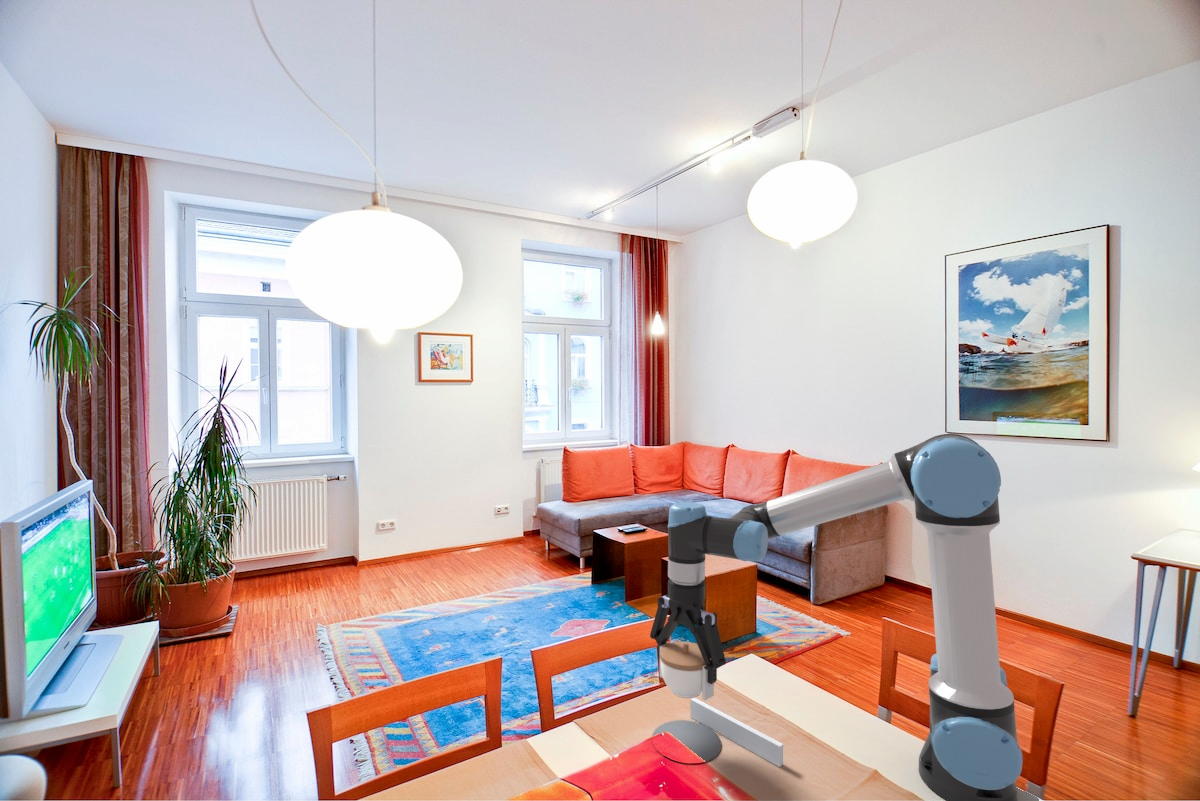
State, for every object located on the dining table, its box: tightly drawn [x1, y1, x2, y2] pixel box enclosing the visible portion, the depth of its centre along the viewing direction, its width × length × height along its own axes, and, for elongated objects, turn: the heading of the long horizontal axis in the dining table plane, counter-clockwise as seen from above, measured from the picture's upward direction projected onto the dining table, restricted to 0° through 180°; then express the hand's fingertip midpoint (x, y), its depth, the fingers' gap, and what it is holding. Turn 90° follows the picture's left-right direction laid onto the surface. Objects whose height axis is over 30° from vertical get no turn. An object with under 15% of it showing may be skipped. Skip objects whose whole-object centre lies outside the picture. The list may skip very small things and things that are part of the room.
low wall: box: [689, 697, 784, 768], centre depth 117 cm, size 22×1×4 cm, turn 41°
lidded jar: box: [659, 641, 711, 699], centre depth 116 cm, size 11×11×9 cm
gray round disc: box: [651, 719, 722, 763], centre depth 117 cm, size 14×14×1 cm
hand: (685, 685), depth 117 cm, fingers closed on lidded jar, 11 cm apart
